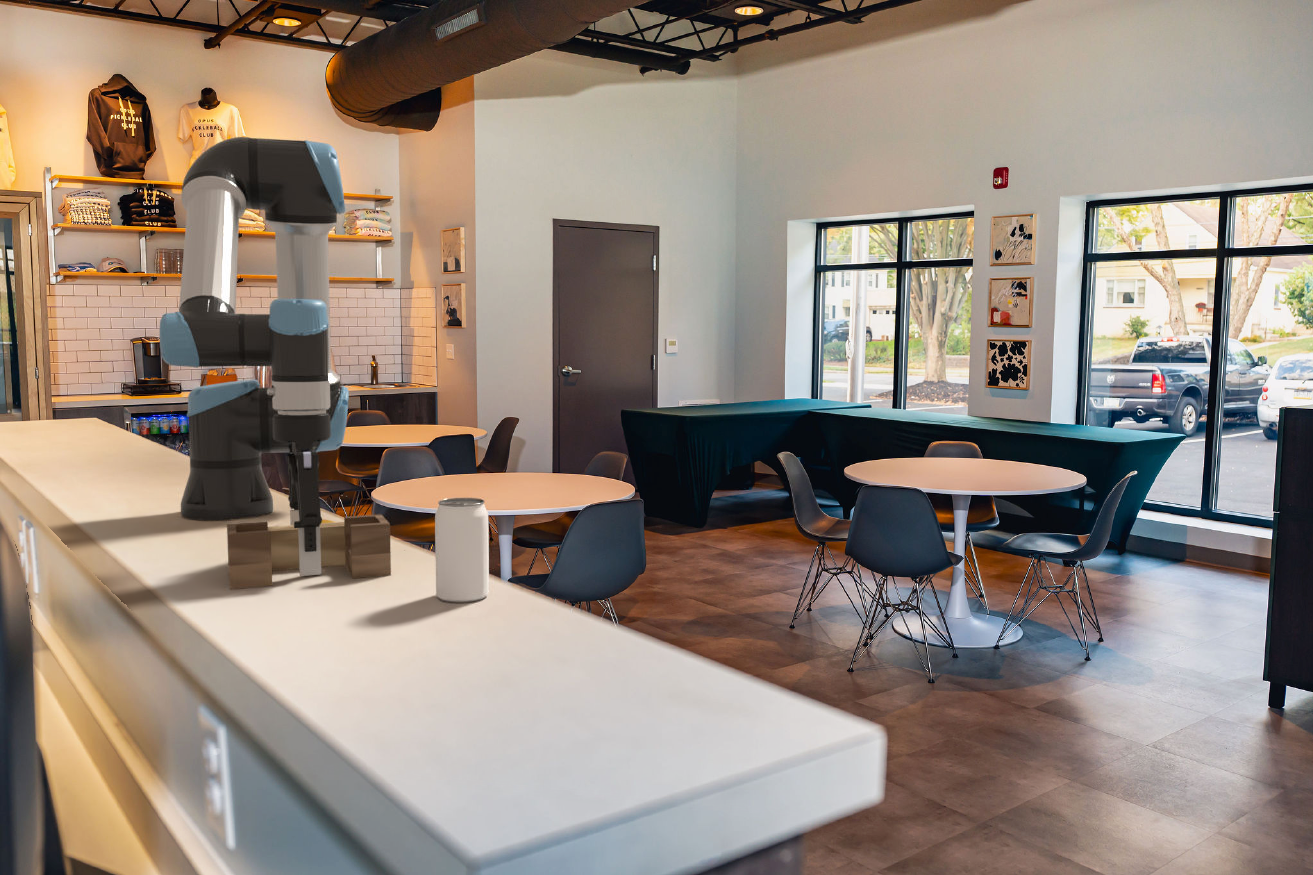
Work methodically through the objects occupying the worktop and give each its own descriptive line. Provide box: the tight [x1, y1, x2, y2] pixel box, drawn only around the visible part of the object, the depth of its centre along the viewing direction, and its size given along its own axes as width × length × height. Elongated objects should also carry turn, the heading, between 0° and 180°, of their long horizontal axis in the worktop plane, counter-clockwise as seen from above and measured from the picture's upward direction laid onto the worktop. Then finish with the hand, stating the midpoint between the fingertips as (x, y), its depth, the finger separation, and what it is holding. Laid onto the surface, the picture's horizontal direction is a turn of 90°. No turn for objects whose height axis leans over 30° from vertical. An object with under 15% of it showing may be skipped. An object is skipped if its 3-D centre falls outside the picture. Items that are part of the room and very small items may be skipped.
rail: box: [268, 521, 345, 572], centre depth 143 cm, size 3×16×6 cm, turn 114°
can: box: [434, 497, 490, 604], centre depth 126 cm, size 6×6×12 cm
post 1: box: [226, 521, 273, 590], centre depth 134 cm, size 7×5×7 cm
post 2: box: [343, 513, 392, 579], centre depth 140 cm, size 7×5×7 cm
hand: (305, 564), depth 143 cm, fingers open, 13 cm apart
